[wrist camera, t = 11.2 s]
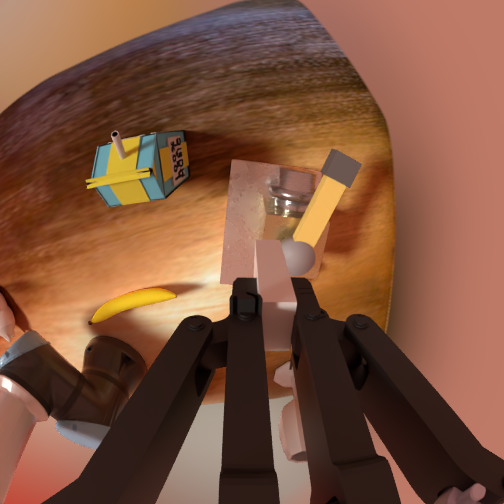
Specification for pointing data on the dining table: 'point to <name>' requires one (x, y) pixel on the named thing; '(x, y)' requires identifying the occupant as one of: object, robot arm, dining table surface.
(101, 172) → the carton
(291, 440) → the wineglass
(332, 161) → the lever
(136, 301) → the banana
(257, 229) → the valve body
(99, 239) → the dining table surface
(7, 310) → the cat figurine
